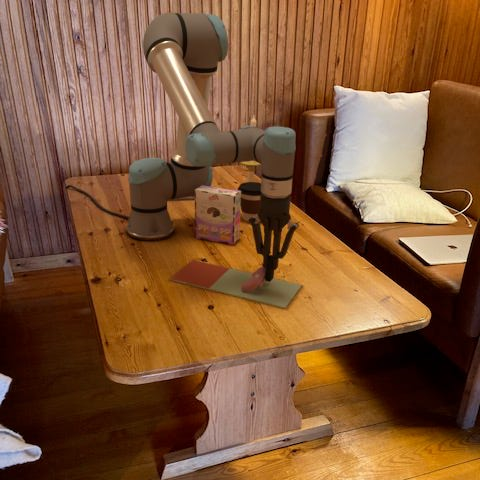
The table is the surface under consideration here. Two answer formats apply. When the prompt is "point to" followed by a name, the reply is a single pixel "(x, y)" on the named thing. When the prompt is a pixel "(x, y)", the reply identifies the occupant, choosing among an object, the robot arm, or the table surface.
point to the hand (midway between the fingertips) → (269, 279)
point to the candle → (251, 163)
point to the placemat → (236, 283)
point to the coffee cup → (250, 199)
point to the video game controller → (255, 280)
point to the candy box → (217, 214)
